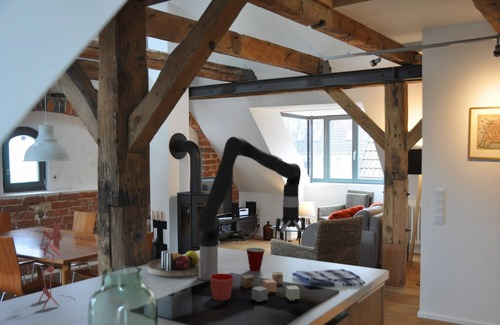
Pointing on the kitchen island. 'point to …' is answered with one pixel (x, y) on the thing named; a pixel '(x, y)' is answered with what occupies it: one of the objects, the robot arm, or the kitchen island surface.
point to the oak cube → (278, 277)
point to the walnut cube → (247, 281)
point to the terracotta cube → (270, 285)
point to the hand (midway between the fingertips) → (290, 239)
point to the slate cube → (259, 293)
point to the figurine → (55, 237)
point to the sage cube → (292, 292)
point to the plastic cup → (255, 258)
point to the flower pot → (221, 286)
